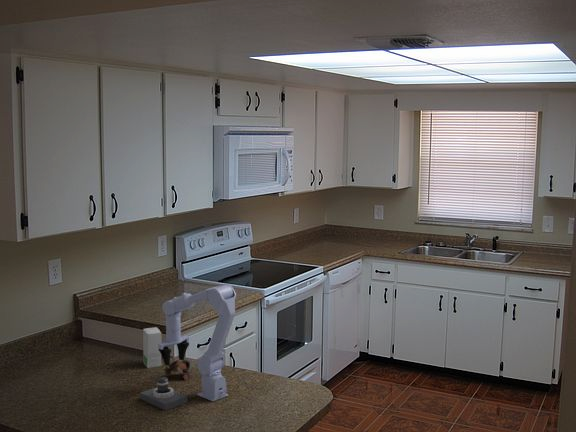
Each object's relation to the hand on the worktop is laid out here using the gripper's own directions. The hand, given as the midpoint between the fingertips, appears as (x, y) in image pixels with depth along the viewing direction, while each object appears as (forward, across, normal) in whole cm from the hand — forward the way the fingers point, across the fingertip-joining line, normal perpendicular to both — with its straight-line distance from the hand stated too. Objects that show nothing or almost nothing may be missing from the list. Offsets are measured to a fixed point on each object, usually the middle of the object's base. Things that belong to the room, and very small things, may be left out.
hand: (174, 362), depth 268 cm
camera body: (+10, +13, +8) cm, 18 cm away
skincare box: (+10, -11, -27) cm, 31 cm away
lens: (+7, +13, +8) cm, 17 cm away
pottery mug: (+10, -8, -6) cm, 15 cm away
